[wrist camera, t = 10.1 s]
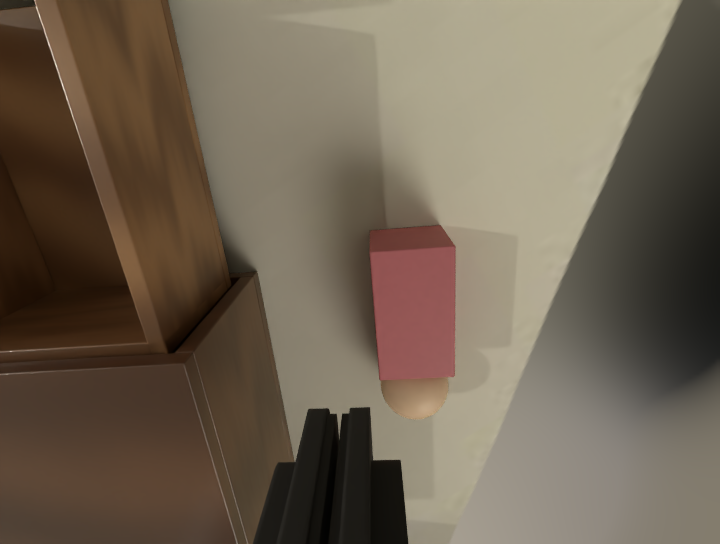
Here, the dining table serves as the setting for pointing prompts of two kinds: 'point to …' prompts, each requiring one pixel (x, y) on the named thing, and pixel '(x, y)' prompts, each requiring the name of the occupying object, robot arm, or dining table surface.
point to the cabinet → (147, 437)
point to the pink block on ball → (414, 316)
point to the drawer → (100, 185)
